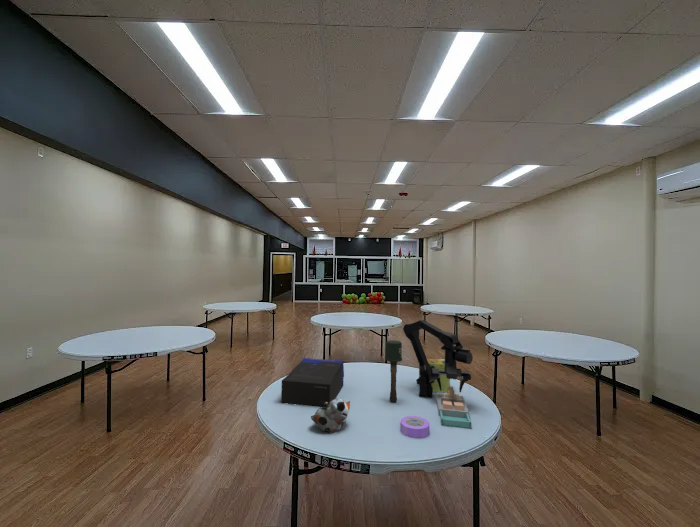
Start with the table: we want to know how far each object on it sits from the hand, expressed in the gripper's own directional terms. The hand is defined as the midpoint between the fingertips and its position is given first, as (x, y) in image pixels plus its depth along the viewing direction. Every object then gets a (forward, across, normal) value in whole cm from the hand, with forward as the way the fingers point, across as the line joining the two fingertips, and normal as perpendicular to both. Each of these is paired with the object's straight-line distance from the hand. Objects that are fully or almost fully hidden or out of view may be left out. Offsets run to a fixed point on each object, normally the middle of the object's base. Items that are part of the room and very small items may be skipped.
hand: (450, 391), depth 156 cm
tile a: (+3, -2, -12) cm, 12 cm away
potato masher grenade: (+7, -28, -4) cm, 29 cm away
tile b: (+3, +3, -12) cm, 13 cm away
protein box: (+7, -7, +21) cm, 23 cm away
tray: (+6, 0, -20) cm, 21 cm away
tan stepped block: (+3, 0, -3) cm, 4 cm away
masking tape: (+7, -17, -32) cm, 37 cm away
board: (+6, 0, -5) cm, 8 cm away
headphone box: (+7, -70, -2) cm, 70 cm away
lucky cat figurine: (+7, -51, -36) cm, 63 cm away
